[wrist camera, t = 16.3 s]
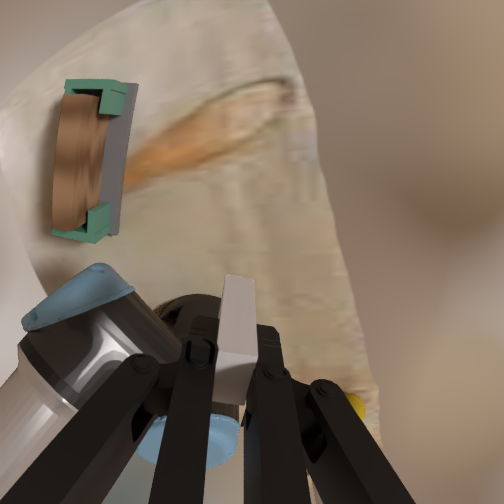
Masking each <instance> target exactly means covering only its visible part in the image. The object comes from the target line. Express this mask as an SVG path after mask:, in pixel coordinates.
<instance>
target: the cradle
mask: <svg viewBox="0 0 504 504" xmlns="http://www.w3.org/2000/svg"><path fill="white" fill-rule="evenodd" d="M138 86H139V84H136V83H122V82H119V81H117V80H111V79H66V82H65V87H64V89H65V93H64V94H87V95H92V96H97V97H102V98H101V103H100V109H99V113H100V114H110V116H109V122H108V128H107V135H106V142H105V150H104V157H103V166H102V175H101V186H100V198H99V205H98V206H96V207H94V208H92V209H90V210H88V222H86V223H84V224H83V225H81V226H80V227H78V228H77V229H75V230H73V231H72V232H71V231H66V230H61V229H56V228H52V235H54V236H59V237H64V238H69V239H74V240H78V241H83V242H88V243H93V244H96V243H97V242H98V241H99V240H101V239H102V238H103V237H104V236H105V235H107V234H111V235H117V234H118V233H119V222H120V210H121V199H122V189H123V179H124V171H125V163H126V155H127V148H128V141H129V135H130V129H131V123H132V117H133V111H134V106H135V101H136V96H137V91H138Z"/></svg>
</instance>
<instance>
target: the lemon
mask: <svg viewBox="0 0 504 504" xmlns="http://www.w3.org/2000/svg"><path fill="white" fill-rule="evenodd" d="M345 396H346V397H347V399H348V400H349V402H350V403H351V405H352V406H353V408H354V410H355V411H356V413H357V414H358V416H359V417H360V419H361V420H363V419H364V417H365V406H364V403H363V401H362V400H361V398H360V397H359V396H357V395H356V394H352V393H347V394H345Z"/></svg>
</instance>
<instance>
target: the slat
mask: <svg viewBox="0 0 504 504" xmlns="http://www.w3.org/2000/svg"><path fill="white" fill-rule="evenodd" d="M101 98H102V97H97V96H92V95H87V94H64V95H63V101H62V107H61V113H60V119H59V127H58V134H57V143H56V152H55V163H54V177H53V197H52V228H56V229H61V230H66V231H71V232H72V231H73V230H75V229H77V228H78V227H80V226H81V225H83V224H84V223H86V222H88V210H90V209H92V208H94V207H96V206H98V205H99V198H100V186H101V175H102V166H103V157H104V150H105V142H106V135H107V128H108V122H109V116H110V114H100V113H99V109H100V103H101Z"/></svg>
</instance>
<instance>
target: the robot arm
mask: <svg viewBox="0 0 504 504" xmlns="http://www.w3.org/2000/svg"><path fill="white" fill-rule="evenodd" d="M134 290H135V288H134V287H133V286H130V285H129V284H128V283H127V282H126V281H125V280H124V279H123V278H122V277H121V276H120V275H119V274H118V273H117V272H116V271H115V270H114V269H113V268H112V267H111V266H109V265H108V264H105V263H95V264H93V265H91V266H89V267H87V268H86V269H84V270H83V271H81V272H80V273H79V274H77V275H76V276H74V277H73V278H72V279H70V280H69V281H68V282H66V283H65V284H63V285H62V286H61V287H59V288H58V289H57V290H56V291H54V292H53V293H52V294H50V295H49V296H48V297H47V298H46V299H44V300H43V301H42V302H41V303H39V304H38V305H37V306H36V307H35V308H33V309H32V310H31V311H30V312H29V313H27V314H26V315H25V316H24V317H23V318H22V321H21V323H22V325H23V329H24V330H25V331H27V332H28V333H27V335H26V336H25V337H24V338H23V339H22V340H21V342H19V344H18V359H19V363H18V367H17V368H16V370H15V371H14V372H13V373H12V374H11V376H10V377H9V378H8V379H7V380H6V382H5V383H4V384H3V385H2V387H1V388H0V504H101V503H102V502H103V500H104V499H105V497H106V496H107V494H108V492H109V491H110V489H111V488H112V486H113V485H114V483H115V482H116V480H117V479H118V477H119V476H120V474H121V472H122V471H123V469H124V467H125V466H126V465H127V463H128V462H129V460H130V458H131V457H132V455H133V454H134V452H135V453H136V454H137V455H138V456H140V457H141V458H143V459H144V460H146V461H148V462H150V463H152V464H155V465H156V468H155V473H154V478H153V483H152V488H151V493H150V498H149V503H148V504H203V496H204V484H205V471H206V469H209V468H213V467H216V466H218V465H221V464H223V463H224V462H226V461H227V460H229V459H230V458H231V457H232V455H233V454H234V452H235V450H236V447H237V438H238V433H239V431H240V425H239V405H243V406H244V405H245V401H246V409H245V413H244V416H243V419H242V423H241V427H243V426H244V504H311V499H310V492H309V485H308V479H307V472H306V468H307V470H308V472H309V474H310V476H311V479H312V481H313V483H314V485H315V487H316V489H317V491H318V494H319V496H320V498H321V500H322V502H323V504H416V503H415V502H414V500H413V499H412V498H411V496H410V494H409V493H408V491H407V489H406V488H405V486H404V485H403V483H402V482H401V480H400V479H399V477H398V476H397V474H396V472H395V471H394V470H393V468H392V466H391V465H390V463H389V462H388V460H387V459H386V457H385V456H384V454H383V453H382V451H381V449H380V448H379V446H378V445H377V443H376V442H375V440H374V439H373V437H372V436H371V434H370V433H369V431H368V430H367V428H366V426H365V425H364V423H363V422H362V420H361V419H360V417H359V416H358V414H357V413H356V411H355V410H354V408H353V406H352V405H351V403H350V402H349V400H348V399H347V397H346V396H345V394H344V393H343V391H342V390H341V388H340V387H339V386H338V385H337V384H335V383H334V382H332V381H329V380H326V379H318V380H315V381H313V382H312V383H311V384H310V385H307V384H304V383H301V382H298V381H296V380H294V379H292V378H291V375H290V373H289V371H288V370H287V369H286V368H285V367H284V362H283V356H282V349H281V343H280V337H279V333H278V332H277V330H276V329H275V328H274V327H272V326H265V325H259V324H256V309H255V292H254V279H252V278H246V277H240V276H235V275H229V274H226V277H225V283H224V288H223V293H222V299H221V298H218V297H215V296H211V295H204V294H194V295H187V296H183V297H180V298H178V299H176V300H174V301H172V302H171V303H170V304H168V305H167V306H166V307H165V308H164V310H163V311H162V312H161V314H160V316H159V317H158V316H157V315H156V314H155V313H154V312H153V310H152V309H151V308H150V307H149V306H148V305H147V304H146V303H145V302H144V301H143V300H142V299H141V297H140V296H139V295H138V294H137V293H136V292H135V291H134Z"/></svg>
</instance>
